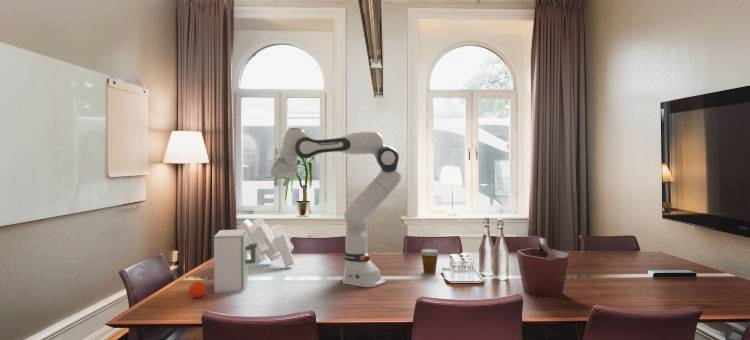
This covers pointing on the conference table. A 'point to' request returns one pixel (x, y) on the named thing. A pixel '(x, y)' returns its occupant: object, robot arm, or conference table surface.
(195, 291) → the clementine
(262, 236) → the pile of blocks
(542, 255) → the bucket
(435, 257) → the disposable coffee cup
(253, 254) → the hatch
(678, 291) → the conference table surface
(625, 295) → the conference table surface
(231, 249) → the storage box
